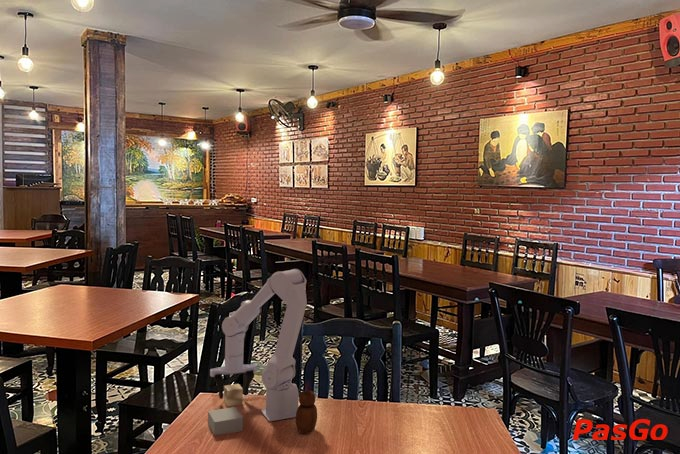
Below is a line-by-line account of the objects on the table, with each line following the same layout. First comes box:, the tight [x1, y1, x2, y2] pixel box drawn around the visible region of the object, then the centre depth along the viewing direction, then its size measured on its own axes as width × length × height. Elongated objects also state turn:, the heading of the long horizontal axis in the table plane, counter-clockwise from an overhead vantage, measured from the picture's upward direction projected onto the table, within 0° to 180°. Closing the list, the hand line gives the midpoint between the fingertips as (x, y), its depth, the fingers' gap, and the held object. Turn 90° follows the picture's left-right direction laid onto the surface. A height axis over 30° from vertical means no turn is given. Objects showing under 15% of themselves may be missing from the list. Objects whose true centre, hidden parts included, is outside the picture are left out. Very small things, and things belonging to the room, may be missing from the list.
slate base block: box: [207, 406, 244, 436], centre depth 145 cm, size 8×8×4 cm
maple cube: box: [223, 383, 244, 407], centre depth 162 cm, size 5×5×5 cm
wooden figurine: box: [295, 380, 318, 435], centre depth 144 cm, size 7×6×15 cm
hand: (233, 396), depth 162 cm, fingers open, 7 cm apart
